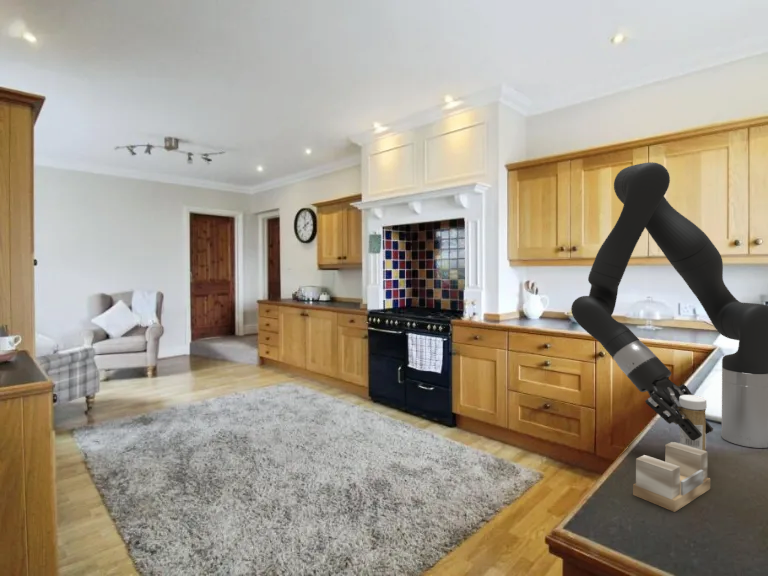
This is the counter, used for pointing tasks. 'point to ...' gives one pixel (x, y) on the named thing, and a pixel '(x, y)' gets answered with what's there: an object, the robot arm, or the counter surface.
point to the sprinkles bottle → (694, 419)
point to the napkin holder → (672, 477)
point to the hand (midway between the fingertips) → (703, 435)
